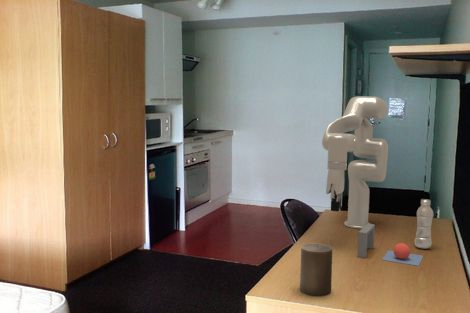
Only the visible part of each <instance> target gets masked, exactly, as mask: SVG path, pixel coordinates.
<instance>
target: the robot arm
mask: <svg viewBox="0 0 470 313" xmlns="http://www.w3.org/2000/svg"><path fill="white" fill-rule="evenodd" d="M387 113H388V106H387V103H386V101H385V100H384V99H382V98H380V97H378V96H365V95H364V96H361V95H359V96H357V95H356V96H354V97H351V98H350V99H349V100H348V103H347V105H346V108H345V110H344V112H343V115H342V116H340V117H339V118H337V119H335V120H333V121H332V122H331V123H330V124H328V126H327V127H326V130H325V131H324V133H323V136H322V141H321V143H322V147H323V149H324V150H325V151H327V164H326V165H327V170H328V171H327V177H326V186H325V187H326V188H325V193H326V194H327V195H329V194H330V211H332V212H340V208H341V206H340V205H341V193H343V192H344V190H345V174H346V173H345V171H347V175H348V200H347V201H348V202H347V207H348V208H347V220H345V221H344V222H343V224H344V226H345V227H347V228H352V229H360V230H361V229H362V228H363V227H364V226H365V225H366V224H372V223H370V221H369V210H370V206H369V205H370V187H369V186H368V184H367V183H366V182H374V183H375V182H376V183H382V182H384V181H385V180H386V176H387V168H388V155H389V145H388V142H387V140H386V139H384V138H378V137H377V138H373V137H374V136H373V135H374V134H373V133H374V127H373V124H372V123H371V121H370V120H369V119H375V120H376V119H378V120H379V119H380V120H381V119H384V118H385V117H386V115H387ZM352 131H354V134H353V133H348V132H352ZM348 153H353V155H354V156H355V157H357V158H366V159H374V160H373V161H372V160H364V159H363V160H361V159H356V160H351V161H350V162H349V164H347V163H348ZM375 159H376V161H375ZM347 165H348V166H347Z"/></svg>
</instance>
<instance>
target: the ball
mask: <svg viewBox="0 0 470 313" xmlns="http://www.w3.org/2000/svg"><path fill="white" fill-rule="evenodd" d="M393 251H394V255H395V256H396V257H397V258H399V259H406V258H408V257H409V255H410V254H411V248H410V247H409V245H407V244H406V243H402V242H401V243H400V242H399V243H396V244H395V245H394V247H393Z"/></svg>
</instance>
